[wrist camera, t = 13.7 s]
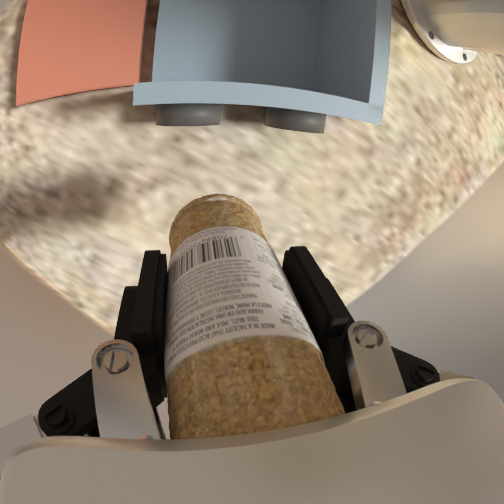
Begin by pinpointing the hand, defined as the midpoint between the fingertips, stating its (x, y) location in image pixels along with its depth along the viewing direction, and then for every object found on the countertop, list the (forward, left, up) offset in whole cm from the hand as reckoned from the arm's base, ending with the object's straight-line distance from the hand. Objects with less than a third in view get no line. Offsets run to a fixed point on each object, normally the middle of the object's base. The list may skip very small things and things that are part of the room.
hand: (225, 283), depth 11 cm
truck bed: (-2, -12, -12) cm, 17 cm away
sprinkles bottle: (0, 0, -4) cm, 4 cm away
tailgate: (+5, -12, -11) cm, 17 cm away
